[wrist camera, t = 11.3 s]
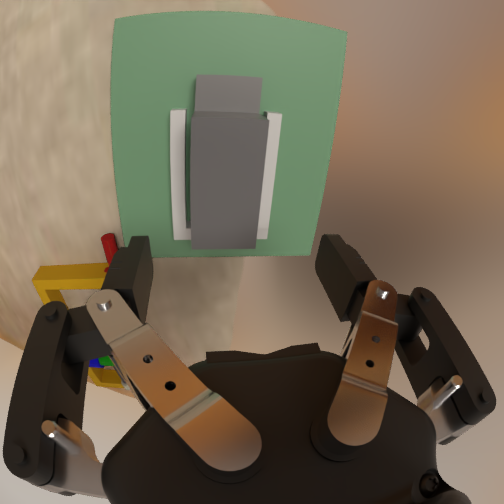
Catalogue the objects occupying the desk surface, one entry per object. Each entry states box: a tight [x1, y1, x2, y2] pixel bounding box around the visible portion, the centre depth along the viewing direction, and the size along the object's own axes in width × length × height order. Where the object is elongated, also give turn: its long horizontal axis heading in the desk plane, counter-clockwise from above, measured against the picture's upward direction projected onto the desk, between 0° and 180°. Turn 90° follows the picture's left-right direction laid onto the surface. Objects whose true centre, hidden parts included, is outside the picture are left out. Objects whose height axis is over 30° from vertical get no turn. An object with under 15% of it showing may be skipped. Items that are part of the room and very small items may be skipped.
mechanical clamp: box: [32, 233, 131, 390], centre depth 33 cm, size 18×6×30 cm
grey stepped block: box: [190, 74, 269, 250], centre depth 21 cm, size 13×5×6 cm, turn 175°
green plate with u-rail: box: [111, 11, 347, 257], centre depth 23 cm, size 20×24×3 cm
